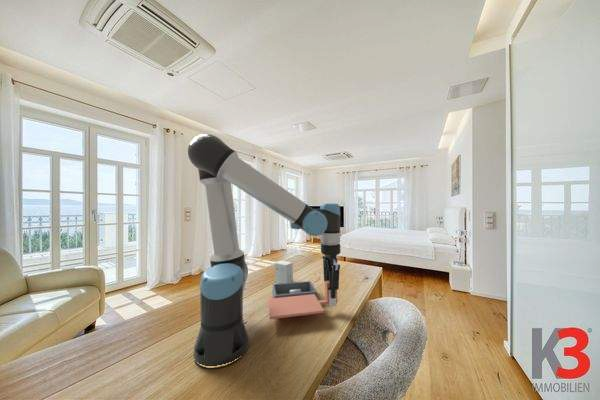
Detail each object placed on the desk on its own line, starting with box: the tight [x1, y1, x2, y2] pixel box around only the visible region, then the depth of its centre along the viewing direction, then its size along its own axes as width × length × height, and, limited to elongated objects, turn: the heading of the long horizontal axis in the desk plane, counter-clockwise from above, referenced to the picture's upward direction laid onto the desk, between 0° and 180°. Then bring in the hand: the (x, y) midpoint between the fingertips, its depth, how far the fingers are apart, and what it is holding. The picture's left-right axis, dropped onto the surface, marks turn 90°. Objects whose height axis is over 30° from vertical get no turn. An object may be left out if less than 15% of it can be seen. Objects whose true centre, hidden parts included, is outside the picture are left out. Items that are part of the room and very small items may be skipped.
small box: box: [274, 260, 294, 284], centre depth 112 cm, size 8×6×10 cm
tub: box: [272, 280, 318, 299], centre depth 92 cm, size 18×12×5 cm, turn 102°
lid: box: [267, 281, 338, 320], centre depth 79 cm, size 26×13×8 cm, turn 102°
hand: (331, 303), depth 81 cm, fingers closed on lid, 2 cm apart
